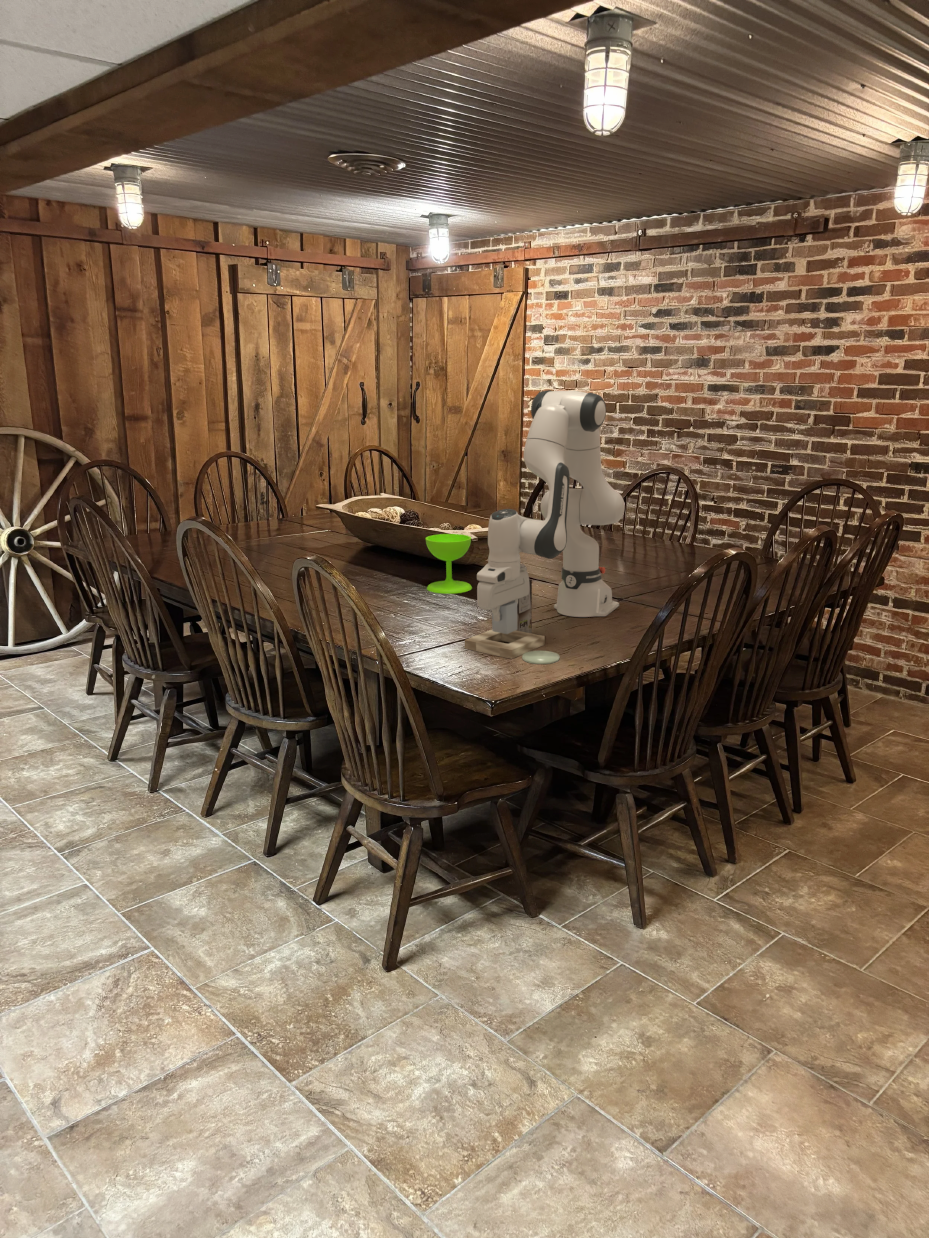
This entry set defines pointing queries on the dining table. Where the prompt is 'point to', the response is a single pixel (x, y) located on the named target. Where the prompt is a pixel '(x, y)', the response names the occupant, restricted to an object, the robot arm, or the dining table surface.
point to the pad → (540, 657)
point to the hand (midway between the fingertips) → (504, 617)
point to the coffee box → (525, 612)
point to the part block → (506, 619)
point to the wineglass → (448, 560)
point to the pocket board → (493, 646)
